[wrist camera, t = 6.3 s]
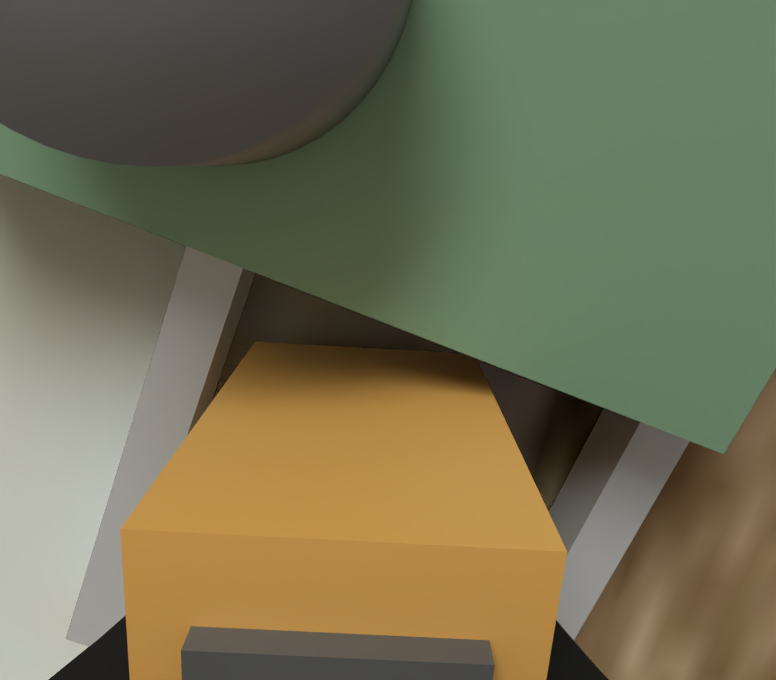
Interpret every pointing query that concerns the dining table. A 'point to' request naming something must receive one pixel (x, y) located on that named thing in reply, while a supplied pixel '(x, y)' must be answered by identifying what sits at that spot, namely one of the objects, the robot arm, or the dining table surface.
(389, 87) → the green block with prongs
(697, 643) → the dining table surface
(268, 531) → the orange box with panel
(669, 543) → the dining table surface
